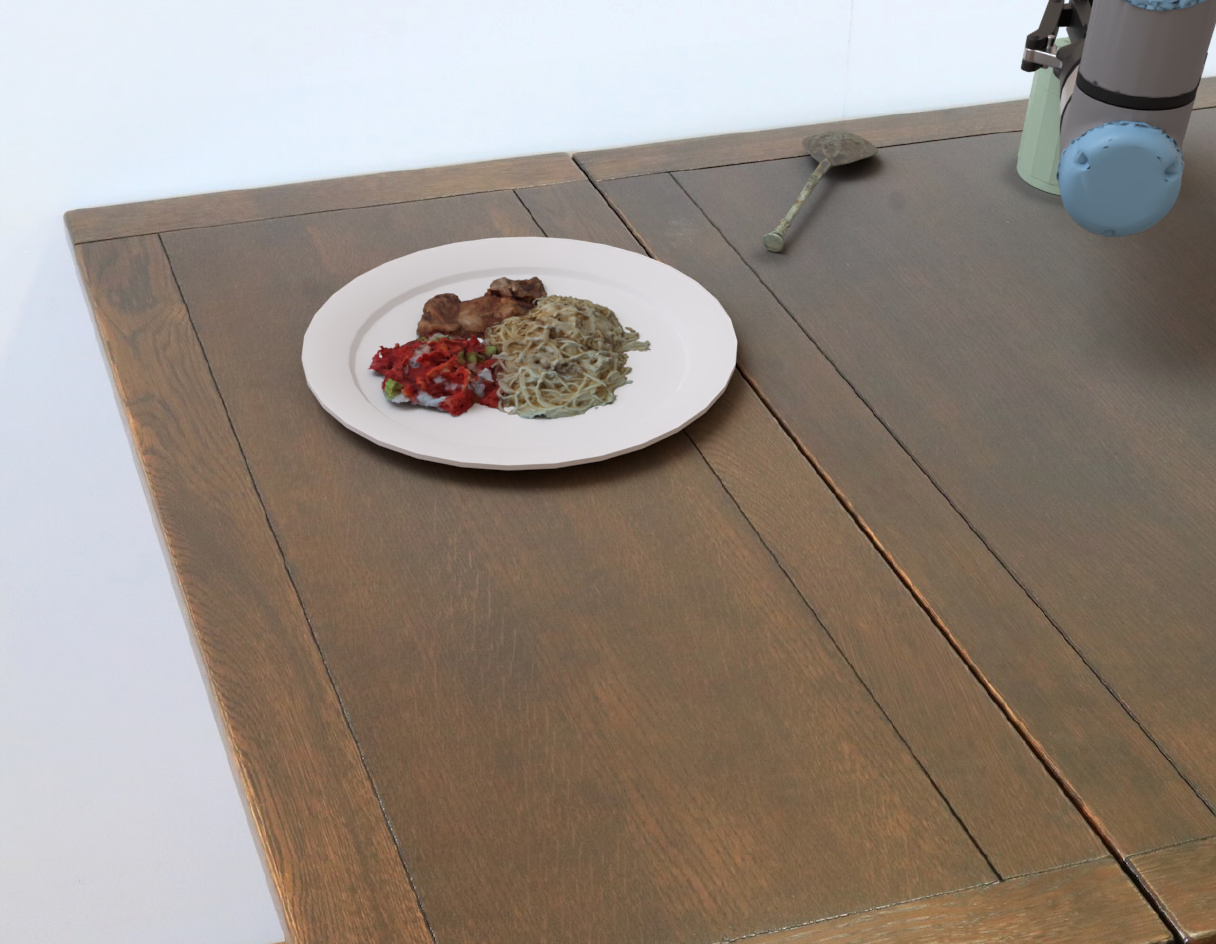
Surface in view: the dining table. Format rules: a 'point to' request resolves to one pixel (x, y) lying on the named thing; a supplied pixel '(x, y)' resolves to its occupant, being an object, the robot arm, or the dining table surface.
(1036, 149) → the jar
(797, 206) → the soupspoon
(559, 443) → the plated food
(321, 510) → the dining table surface
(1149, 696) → the dining table surface
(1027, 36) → the robot arm
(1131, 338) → the dining table surface
